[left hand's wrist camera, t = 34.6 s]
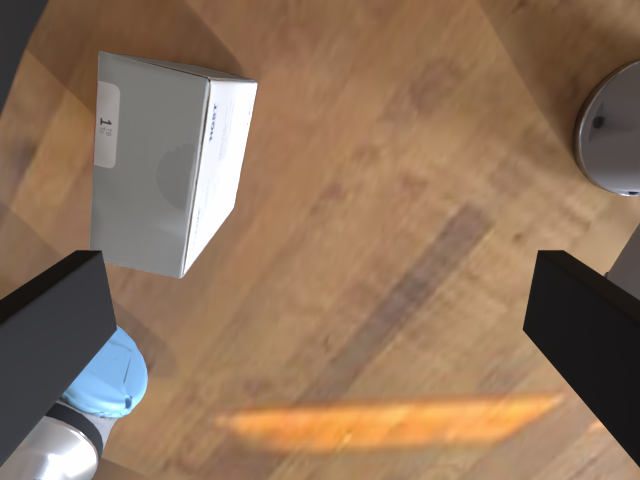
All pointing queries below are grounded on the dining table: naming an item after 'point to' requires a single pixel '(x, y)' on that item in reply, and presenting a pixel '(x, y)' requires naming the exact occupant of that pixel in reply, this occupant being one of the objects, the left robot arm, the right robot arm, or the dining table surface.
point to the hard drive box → (164, 159)
